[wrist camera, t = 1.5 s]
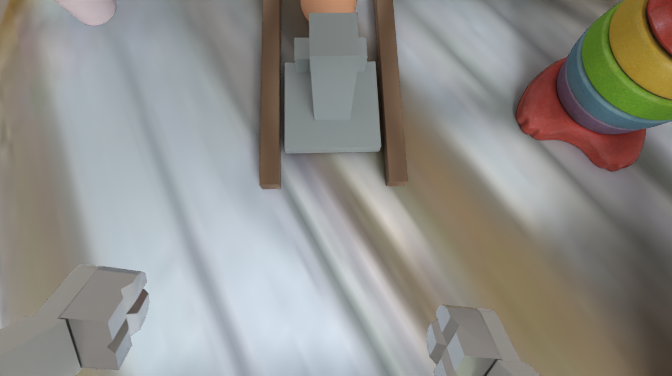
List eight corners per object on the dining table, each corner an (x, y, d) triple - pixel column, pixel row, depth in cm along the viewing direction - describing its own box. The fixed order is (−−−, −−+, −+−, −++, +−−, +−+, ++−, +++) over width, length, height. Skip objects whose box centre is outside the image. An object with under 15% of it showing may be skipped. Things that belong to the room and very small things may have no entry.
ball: (353, -2, 34) (357, -48, 30) (355, 42, 33) (360, 3, 28) (302, -2, 34) (298, -47, 29) (302, 43, 33) (298, 3, 28)
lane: (386, -28, 35) (389, -41, 34) (403, 185, 30) (407, 180, 29) (266, -28, 35) (263, -41, 33) (262, 188, 30) (259, 184, 28)
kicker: (373, 59, 33) (393, -35, 23) (378, 151, 30) (404, 92, 20) (286, 60, 32) (268, -34, 22) (286, 153, 30) (266, 94, 20)
